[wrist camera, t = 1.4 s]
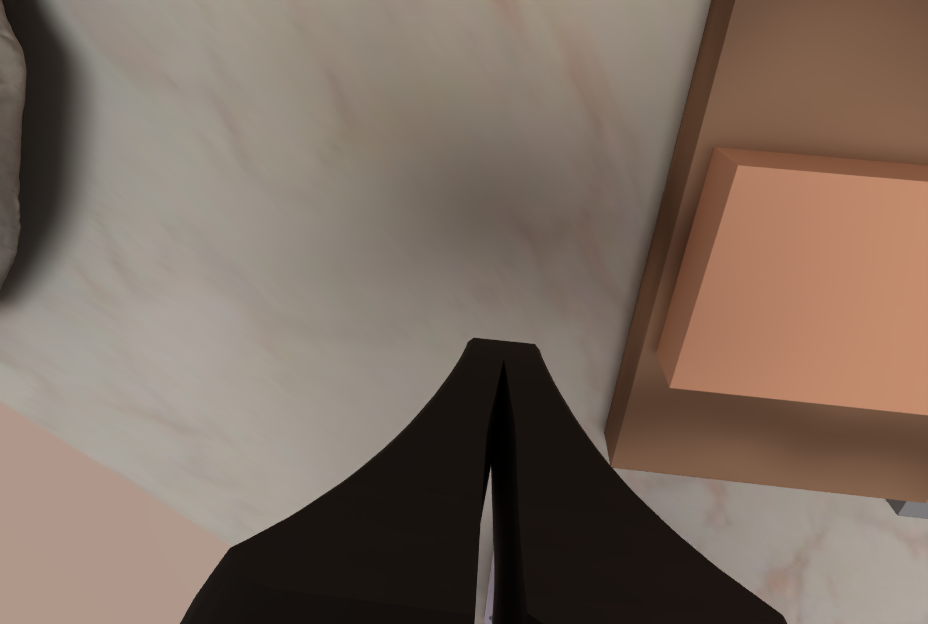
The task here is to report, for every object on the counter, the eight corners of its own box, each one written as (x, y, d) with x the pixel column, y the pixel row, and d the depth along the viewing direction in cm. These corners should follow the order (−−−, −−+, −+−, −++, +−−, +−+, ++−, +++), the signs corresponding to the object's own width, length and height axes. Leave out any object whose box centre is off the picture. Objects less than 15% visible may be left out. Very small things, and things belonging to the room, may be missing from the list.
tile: (956, 383, 19) (1001, 423, 17) (656, 352, 19) (669, 387, 18) (1084, 178, 15) (1156, 201, 14) (714, 146, 16) (738, 165, 14)
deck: (895, 465, 23) (925, 503, 21) (604, 433, 24) (610, 467, 22) (1209, -51, 14) (1304, -57, 13) (731, -82, 15) (760, -93, 13)
